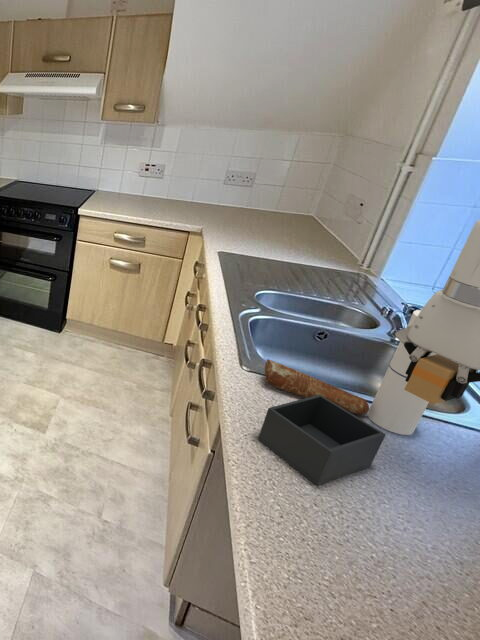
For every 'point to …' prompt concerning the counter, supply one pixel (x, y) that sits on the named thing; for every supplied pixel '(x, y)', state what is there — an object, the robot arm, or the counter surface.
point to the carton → (431, 377)
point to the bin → (320, 438)
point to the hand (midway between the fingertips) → (430, 388)
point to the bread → (311, 387)
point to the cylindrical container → (398, 396)
